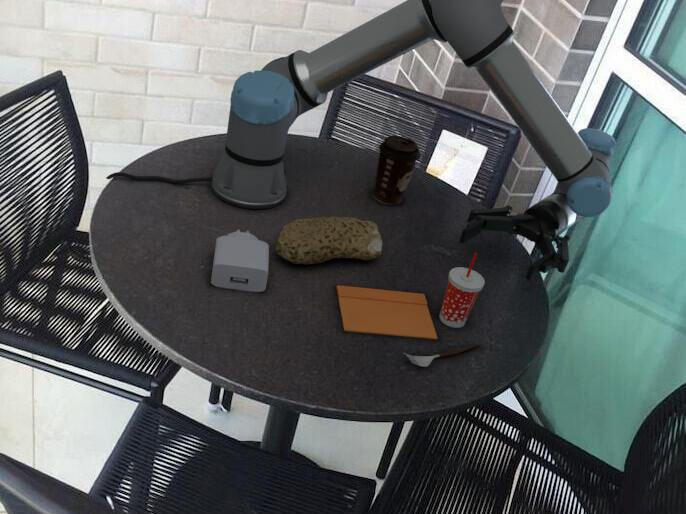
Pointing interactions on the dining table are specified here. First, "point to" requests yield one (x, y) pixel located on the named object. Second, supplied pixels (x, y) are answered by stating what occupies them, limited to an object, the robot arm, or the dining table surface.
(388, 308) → the cloth
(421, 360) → the fork
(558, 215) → the robot arm
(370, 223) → the sponge
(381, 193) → the coffee cup
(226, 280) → the charger
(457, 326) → the beverage cup
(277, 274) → the dining table surface
